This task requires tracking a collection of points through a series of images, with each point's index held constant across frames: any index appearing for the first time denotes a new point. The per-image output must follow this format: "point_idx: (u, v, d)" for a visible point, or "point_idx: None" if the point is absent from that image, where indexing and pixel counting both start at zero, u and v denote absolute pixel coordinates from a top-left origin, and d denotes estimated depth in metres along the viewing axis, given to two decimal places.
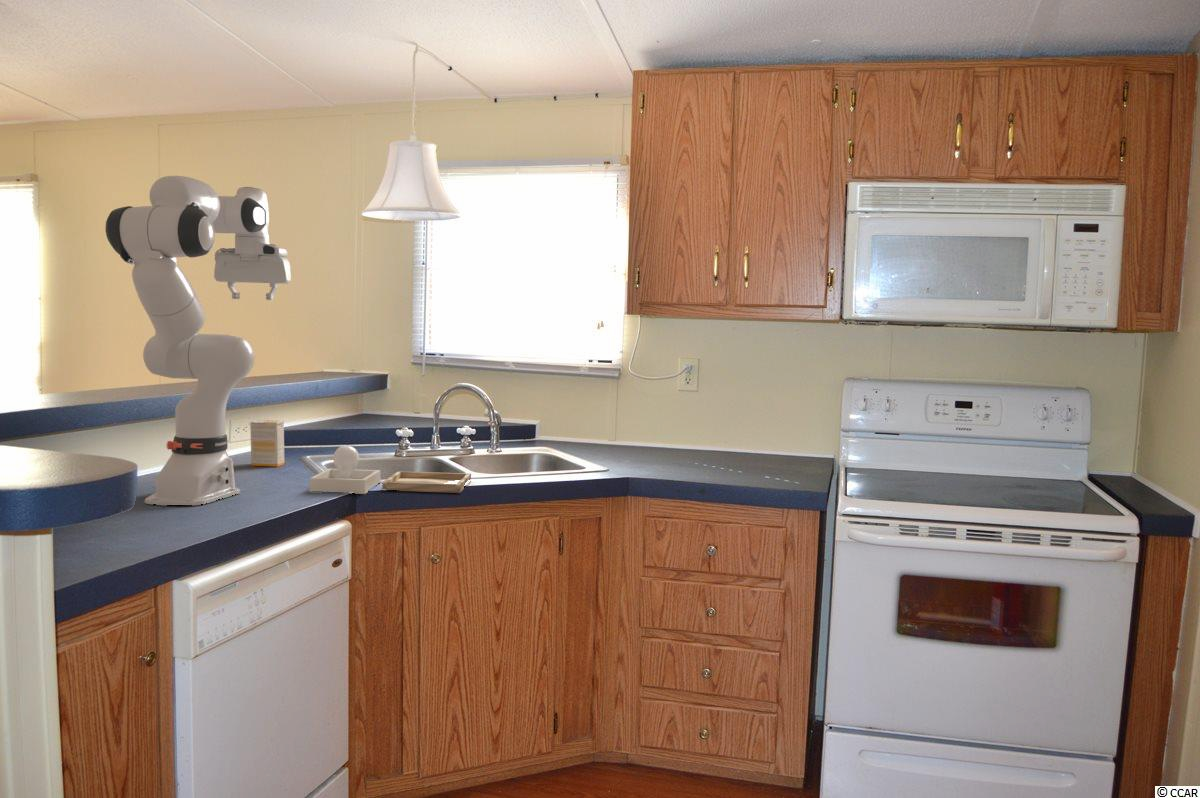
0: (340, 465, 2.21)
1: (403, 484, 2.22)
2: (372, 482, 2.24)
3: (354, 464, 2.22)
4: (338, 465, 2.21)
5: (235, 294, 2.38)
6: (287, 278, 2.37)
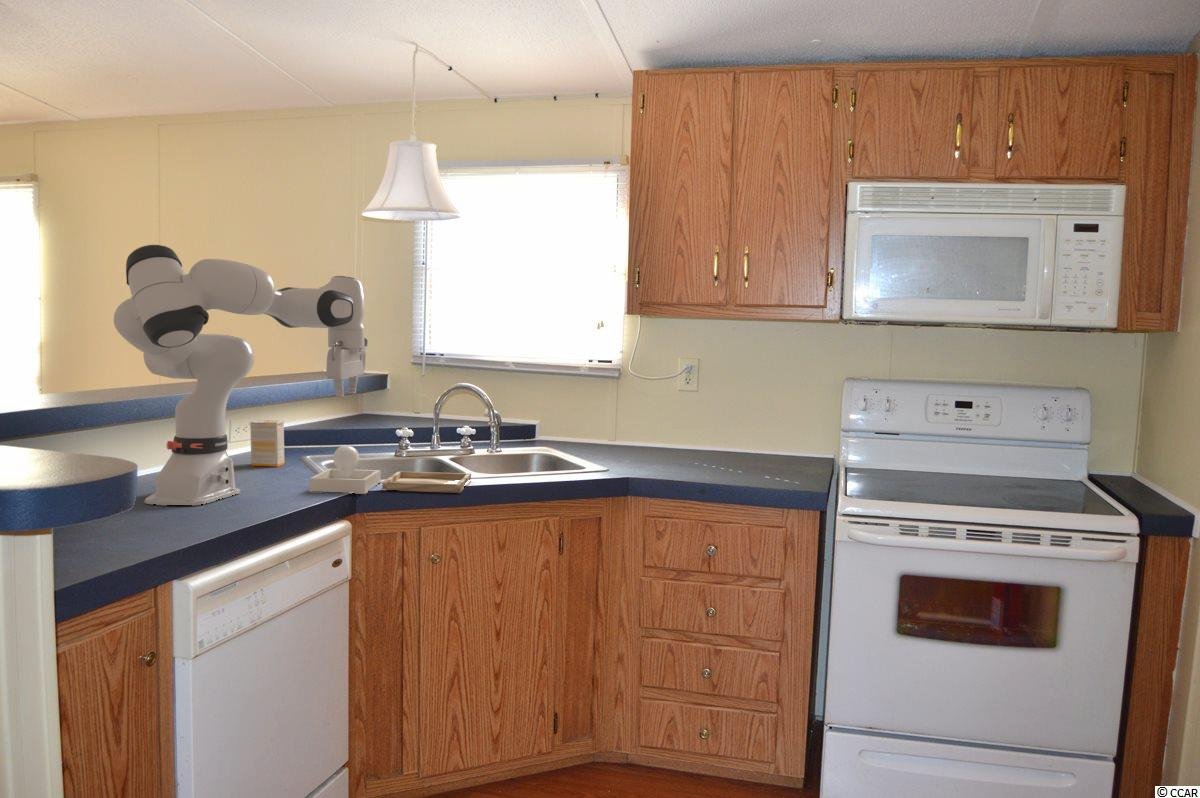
0: (340, 465, 2.21)
1: (403, 484, 2.22)
2: (372, 482, 2.24)
3: (354, 464, 2.22)
4: (338, 465, 2.21)
5: (344, 391, 2.17)
6: None
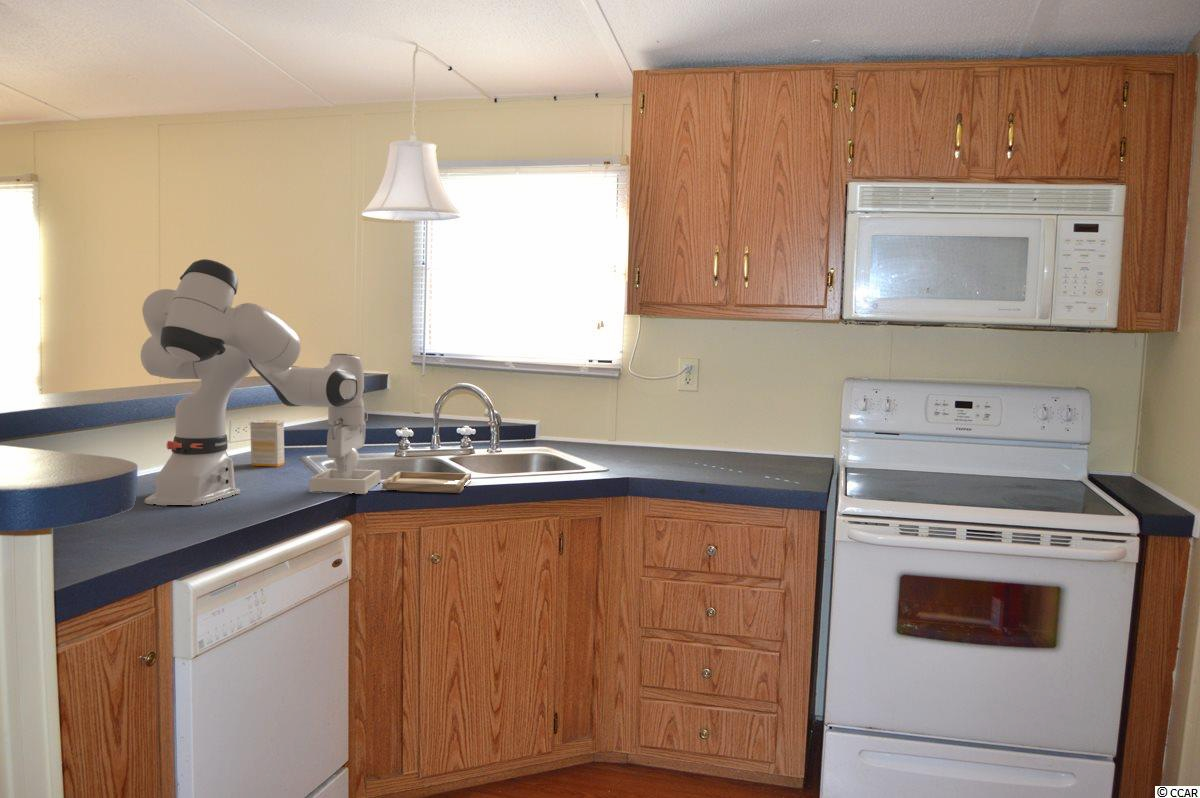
0: None
1: (403, 484, 2.22)
2: (372, 482, 2.24)
3: (354, 464, 2.22)
4: None
5: (345, 467, 2.21)
6: None
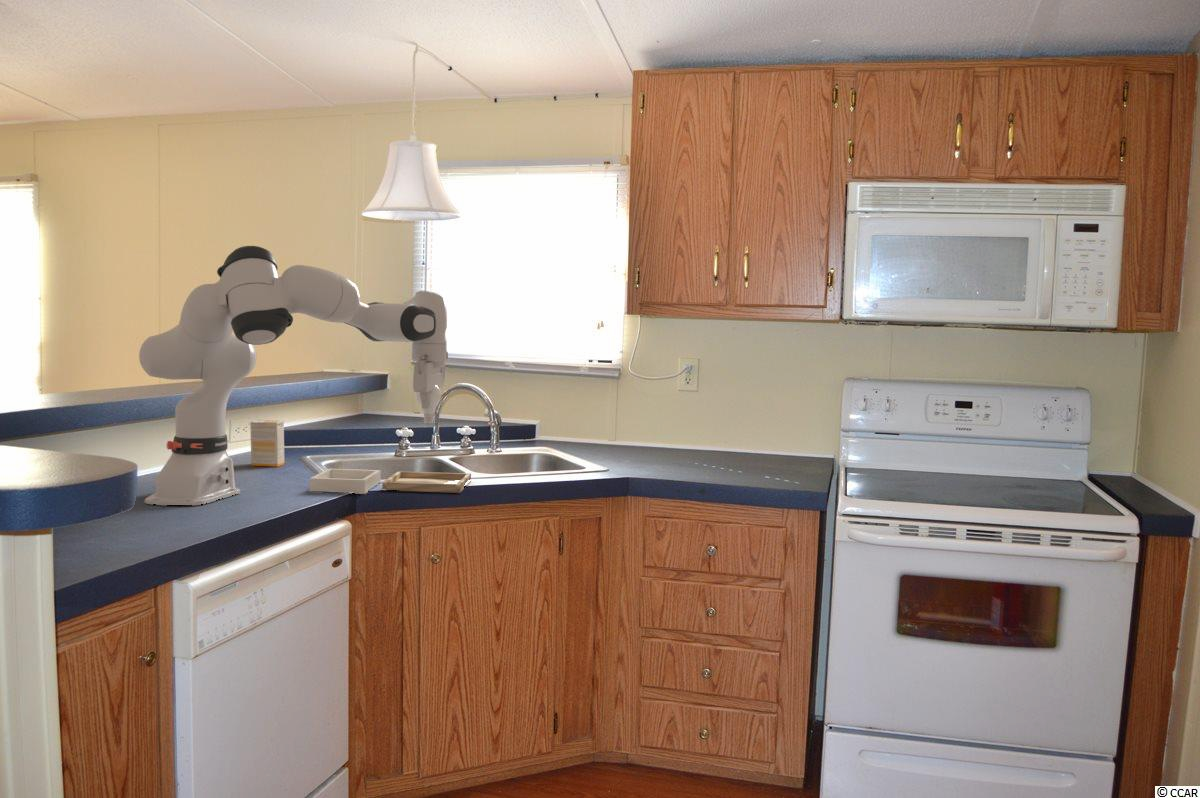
0: None
1: (403, 484, 2.22)
2: (372, 482, 2.24)
3: (437, 401, 2.26)
4: None
5: (429, 403, 2.24)
6: None
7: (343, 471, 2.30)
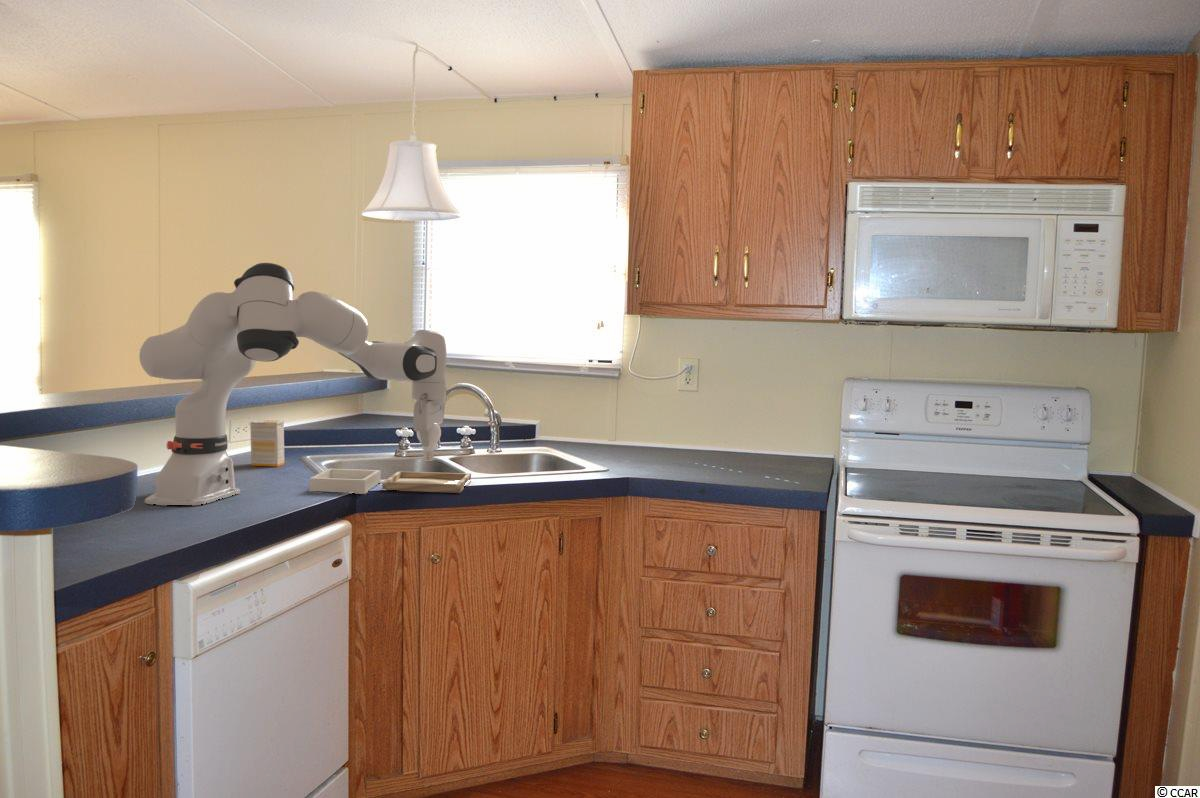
0: None
1: (403, 484, 2.22)
2: (372, 482, 2.24)
3: (437, 439, 2.27)
4: None
5: None
6: None
7: (343, 471, 2.30)
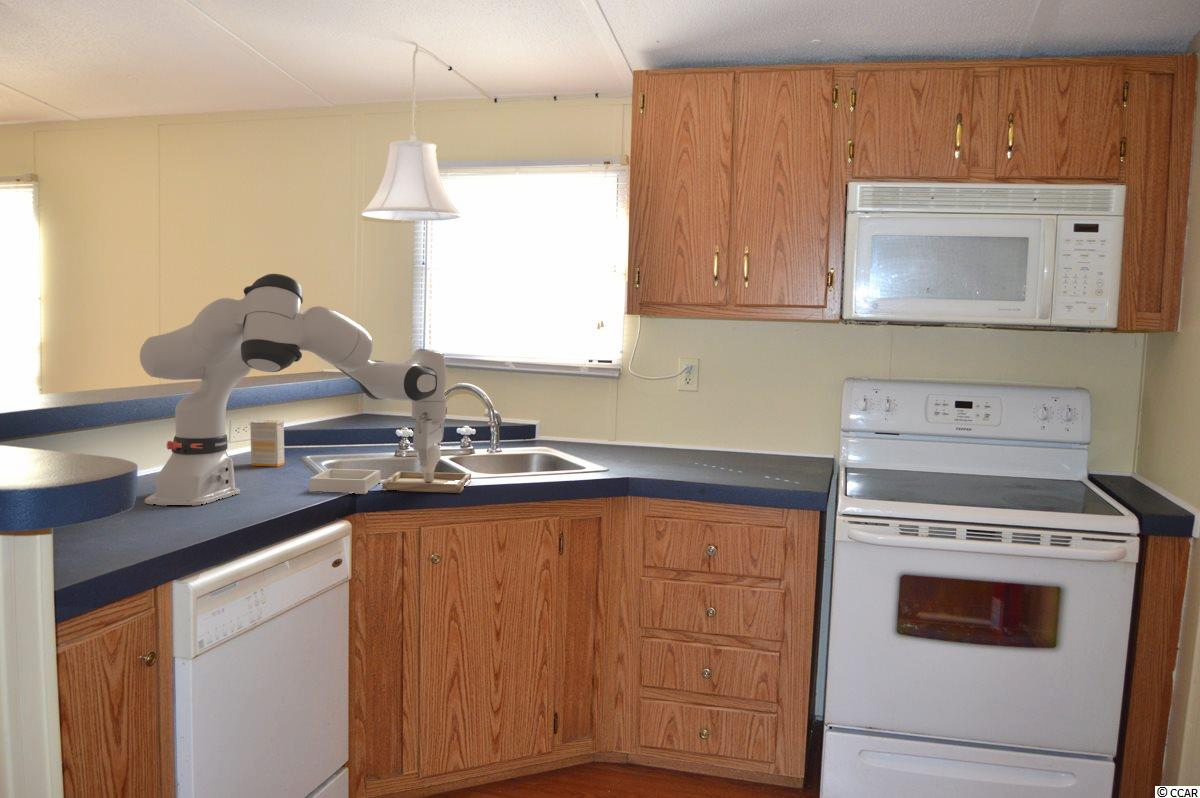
0: None
1: (403, 484, 2.22)
2: (372, 482, 2.24)
3: (437, 460, 2.28)
4: None
5: (427, 461, 2.25)
6: None
7: (343, 471, 2.30)
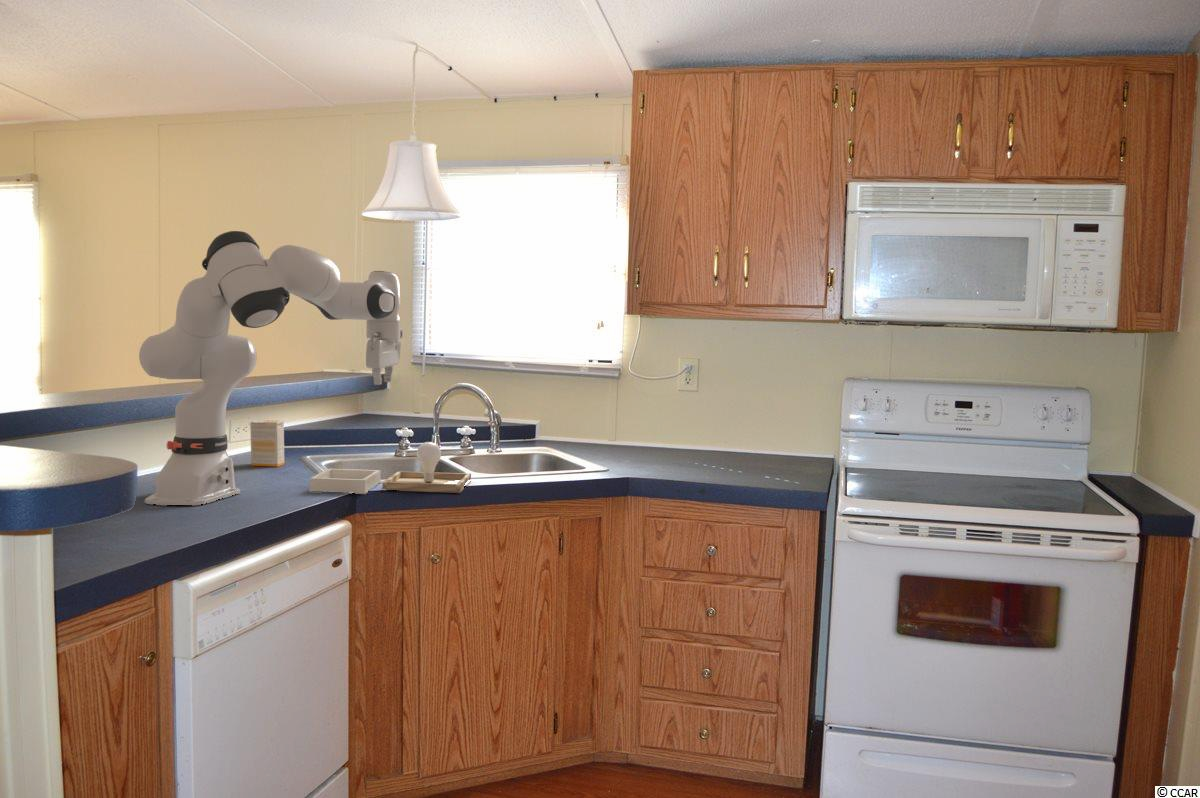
0: (424, 461, 2.27)
1: (403, 484, 2.22)
2: (372, 482, 2.24)
3: (437, 460, 2.29)
4: (422, 461, 2.27)
5: (381, 380, 2.31)
6: None
7: (343, 471, 2.30)
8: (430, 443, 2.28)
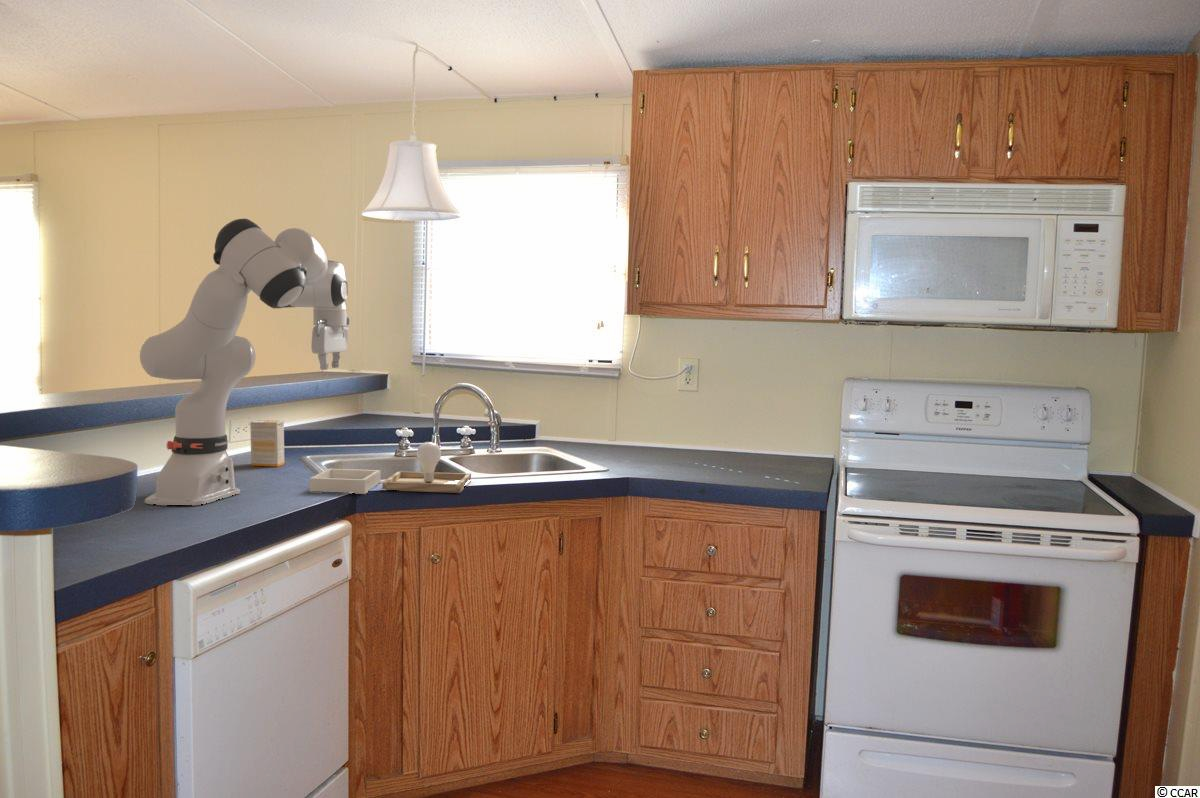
0: (424, 461, 2.27)
1: (403, 484, 2.22)
2: (372, 482, 2.24)
3: (437, 460, 2.29)
4: (422, 461, 2.27)
5: (327, 365, 2.40)
6: None
7: (343, 471, 2.30)
8: (430, 443, 2.28)
